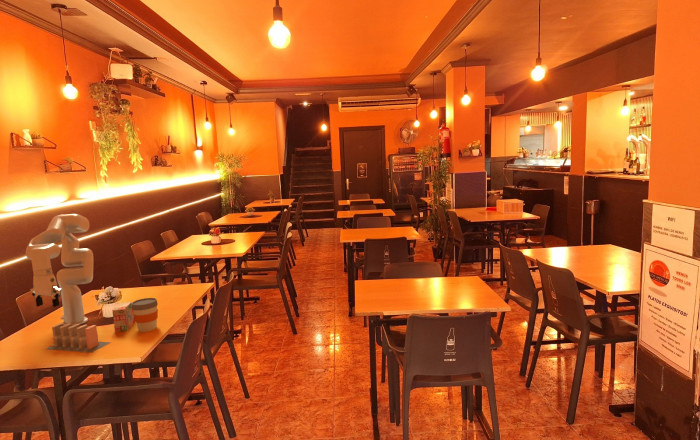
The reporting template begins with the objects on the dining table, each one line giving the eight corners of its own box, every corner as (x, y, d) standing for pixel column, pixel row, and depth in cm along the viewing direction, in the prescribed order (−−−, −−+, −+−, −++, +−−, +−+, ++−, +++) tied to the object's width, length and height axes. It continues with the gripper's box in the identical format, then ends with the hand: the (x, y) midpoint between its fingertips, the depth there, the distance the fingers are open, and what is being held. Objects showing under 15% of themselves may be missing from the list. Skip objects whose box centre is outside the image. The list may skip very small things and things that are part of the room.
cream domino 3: (71, 347, 224) (68, 327, 222) (79, 343, 229) (76, 324, 227) (73, 347, 223) (70, 328, 222) (82, 343, 228) (79, 324, 227)
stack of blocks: (127, 318, 264) (124, 297, 262) (138, 317, 265) (136, 296, 263) (114, 332, 243) (111, 309, 241) (127, 331, 244) (124, 308, 242)
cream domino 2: (62, 346, 225) (60, 327, 224) (71, 342, 230) (68, 323, 229) (65, 347, 225) (62, 327, 223) (74, 343, 230) (71, 323, 228)
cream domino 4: (79, 348, 223) (76, 328, 221) (87, 344, 227) (85, 324, 226) (82, 348, 222) (79, 328, 221) (90, 344, 227) (87, 324, 225)
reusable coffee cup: (150, 323, 254) (147, 296, 252) (165, 326, 248) (162, 299, 246) (129, 331, 243) (126, 303, 241) (144, 334, 237) (141, 306, 235)
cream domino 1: (54, 346, 227) (51, 326, 225) (63, 342, 231) (60, 323, 230) (57, 346, 226) (54, 327, 225) (66, 342, 231) (63, 323, 230)
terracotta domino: (87, 348, 221) (85, 328, 220) (96, 344, 226) (93, 325, 225) (90, 349, 221) (87, 329, 219) (98, 344, 226) (96, 325, 224)
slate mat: (45, 349, 224) (44, 349, 224) (66, 340, 235) (66, 339, 235) (91, 353, 216) (91, 352, 216) (111, 343, 228) (111, 342, 228)
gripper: (64, 270, 227) (69, 303, 229) (34, 270, 230) (40, 303, 233) (51, 274, 219) (56, 309, 222) (21, 274, 223) (26, 308, 226)
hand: (48, 305), depth 227 cm, fingers open, 9 cm apart
